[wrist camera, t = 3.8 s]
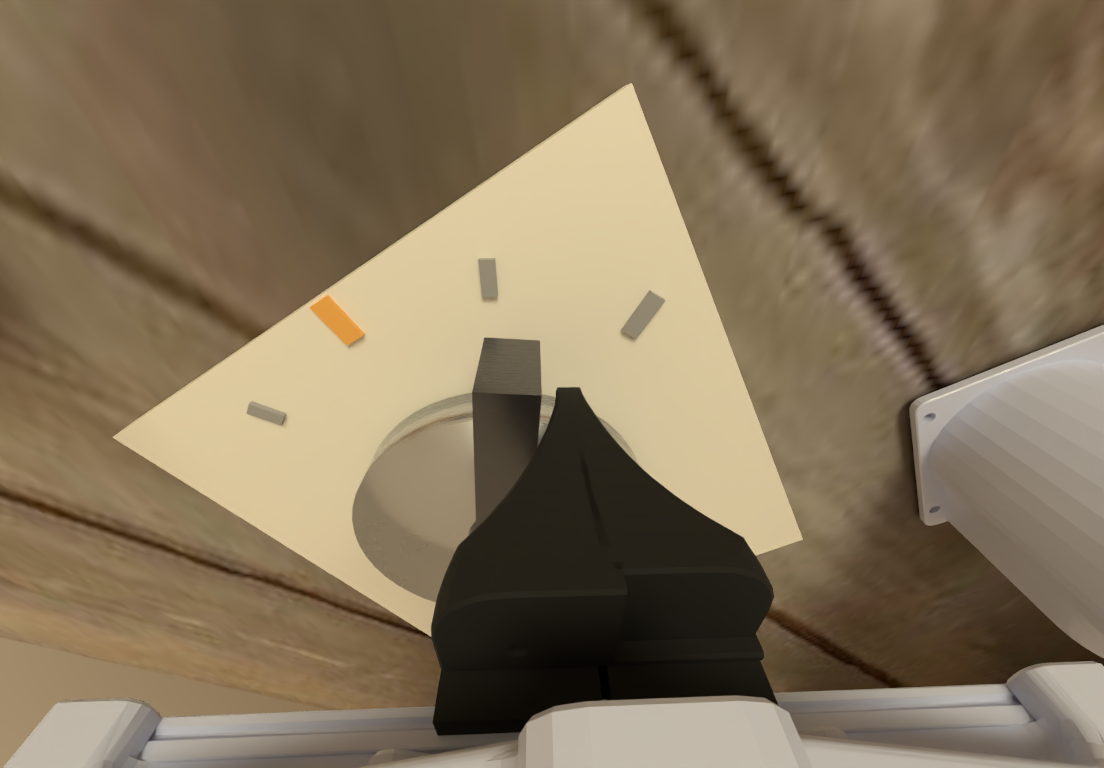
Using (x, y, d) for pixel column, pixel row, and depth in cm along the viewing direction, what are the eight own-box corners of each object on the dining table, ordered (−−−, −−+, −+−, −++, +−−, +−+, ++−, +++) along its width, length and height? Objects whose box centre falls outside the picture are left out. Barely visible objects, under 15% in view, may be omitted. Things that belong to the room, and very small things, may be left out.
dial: (617, 579, 22) (635, 677, 18) (388, 577, 21) (355, 680, 17) (692, 325, 14) (756, 405, 10) (323, 302, 13) (231, 381, 9)
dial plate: (792, 523, 22) (804, 542, 21) (463, 638, 27) (460, 658, 26) (624, 86, 11) (633, 82, 10) (134, 421, 16) (107, 440, 15)
